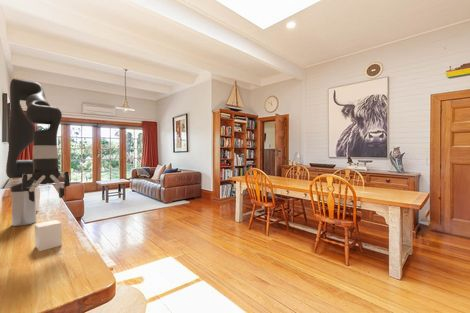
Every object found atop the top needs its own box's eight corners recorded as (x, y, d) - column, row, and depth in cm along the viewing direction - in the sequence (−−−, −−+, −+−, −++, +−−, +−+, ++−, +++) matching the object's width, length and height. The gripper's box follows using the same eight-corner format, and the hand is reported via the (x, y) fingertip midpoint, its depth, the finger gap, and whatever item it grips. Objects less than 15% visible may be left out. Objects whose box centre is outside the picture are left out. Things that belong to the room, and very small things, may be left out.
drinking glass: (32, 213, 142) (31, 189, 141) (23, 212, 143) (22, 188, 143) (43, 210, 148) (42, 187, 148) (35, 210, 150) (34, 187, 149)
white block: (35, 246, 89) (34, 223, 89) (57, 241, 94) (56, 219, 94) (39, 251, 84) (38, 227, 84) (61, 245, 89) (61, 222, 89)
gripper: (65, 157, 96) (66, 195, 97) (19, 158, 86) (20, 201, 86) (70, 157, 92) (72, 197, 92) (22, 158, 81) (24, 204, 81)
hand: (47, 199), depth 89 cm, fingers open, 8 cm apart
